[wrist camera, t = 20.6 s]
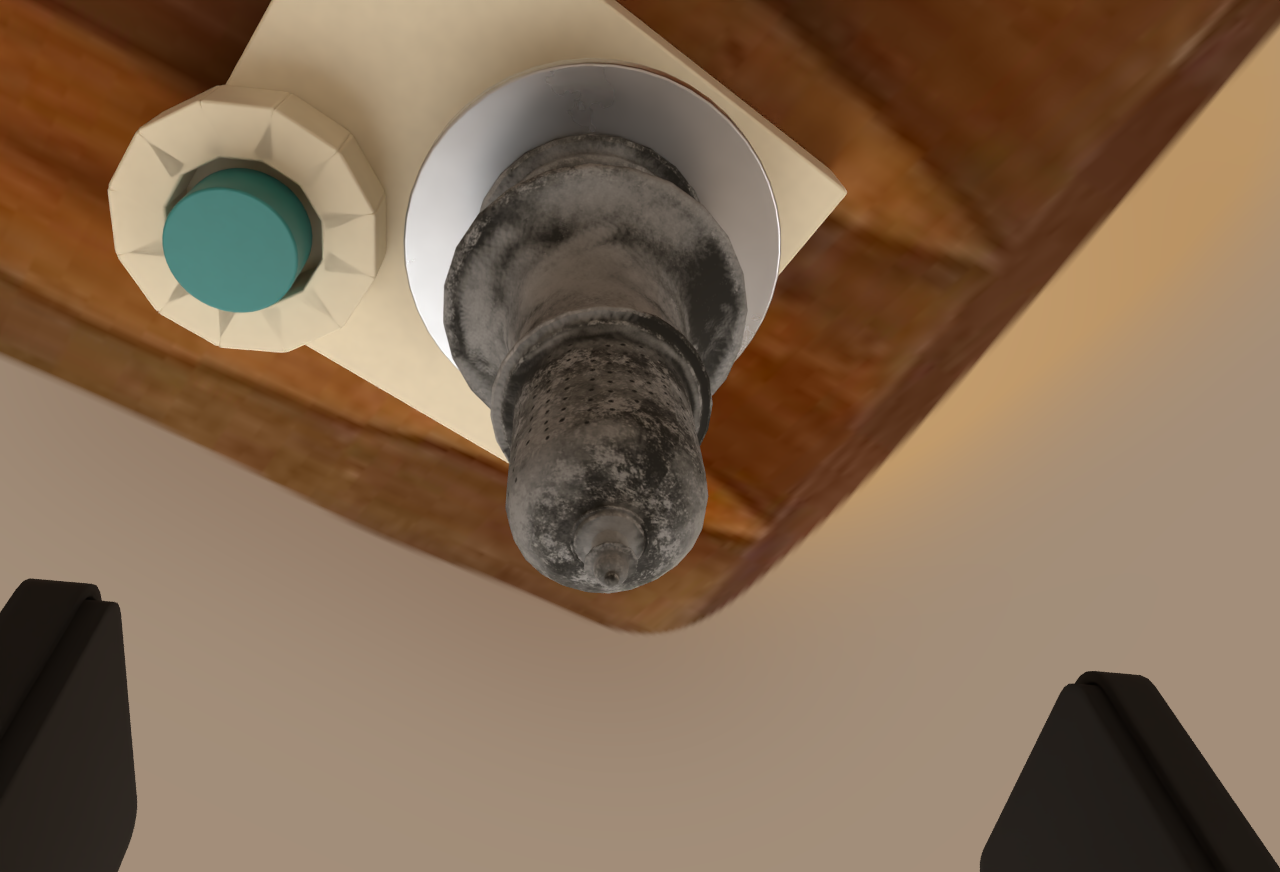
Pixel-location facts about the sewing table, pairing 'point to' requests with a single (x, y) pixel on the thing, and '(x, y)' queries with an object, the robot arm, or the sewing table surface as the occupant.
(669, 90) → the weighing pan
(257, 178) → the button
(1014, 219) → the sewing table surface
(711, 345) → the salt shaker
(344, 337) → the scale
